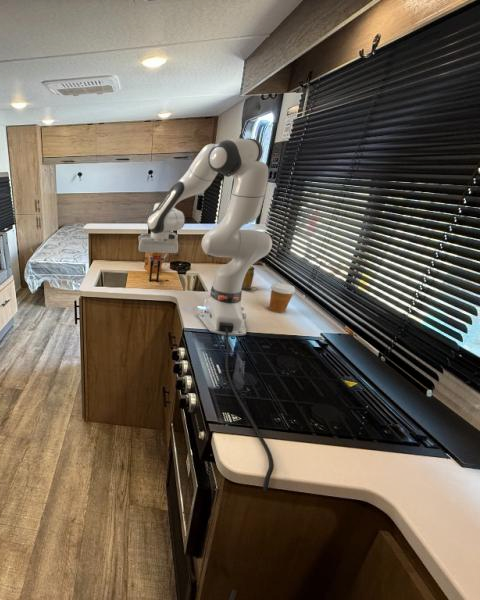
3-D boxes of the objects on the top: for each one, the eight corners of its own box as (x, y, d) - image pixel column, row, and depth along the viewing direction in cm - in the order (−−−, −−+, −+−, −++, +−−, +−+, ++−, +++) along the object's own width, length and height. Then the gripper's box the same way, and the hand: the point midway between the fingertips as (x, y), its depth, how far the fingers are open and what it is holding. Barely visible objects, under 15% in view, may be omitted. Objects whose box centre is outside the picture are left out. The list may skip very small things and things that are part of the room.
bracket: (161, 286, 172) (164, 263, 166) (145, 285, 173) (147, 262, 168) (160, 280, 182) (163, 257, 176) (145, 279, 183) (147, 256, 178)
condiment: (241, 284, 174) (245, 264, 169) (256, 288, 168) (261, 268, 163) (235, 287, 170) (239, 267, 165) (250, 292, 164) (255, 270, 159)
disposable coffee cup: (261, 309, 144) (268, 285, 139) (270, 304, 150) (276, 281, 145) (284, 316, 137) (291, 291, 133) (291, 310, 143) (299, 286, 138)
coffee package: (147, 275, 190) (150, 240, 181) (142, 269, 201) (145, 235, 192) (162, 275, 190) (166, 239, 181) (157, 268, 201) (161, 235, 192)
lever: (161, 260, 161) (162, 256, 161) (152, 260, 162) (152, 256, 162) (159, 265, 174) (159, 261, 174) (150, 265, 174) (150, 261, 175)
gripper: (138, 234, 156) (136, 261, 161) (180, 236, 152) (177, 263, 158) (138, 232, 161) (137, 257, 167) (179, 233, 158) (175, 259, 163)
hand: (156, 260), depth 162 cm, fingers open, 5 cm apart
